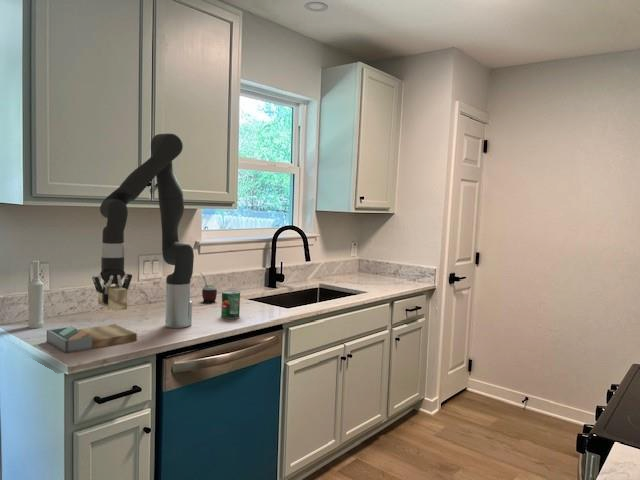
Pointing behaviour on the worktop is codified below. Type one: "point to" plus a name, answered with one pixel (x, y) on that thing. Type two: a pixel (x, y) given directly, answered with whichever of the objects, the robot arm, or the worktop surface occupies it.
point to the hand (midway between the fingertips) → (112, 303)
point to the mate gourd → (209, 292)
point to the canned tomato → (230, 304)
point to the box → (68, 341)
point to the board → (109, 335)
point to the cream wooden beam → (115, 298)
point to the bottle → (35, 299)
